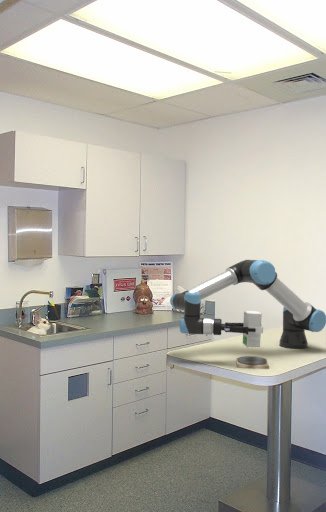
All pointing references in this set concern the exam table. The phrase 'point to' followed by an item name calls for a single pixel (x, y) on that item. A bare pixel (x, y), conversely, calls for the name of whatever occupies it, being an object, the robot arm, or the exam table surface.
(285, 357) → the exam table surface
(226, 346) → the exam table surface
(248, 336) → the skincare box
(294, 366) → the exam table surface
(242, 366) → the rosette stand
